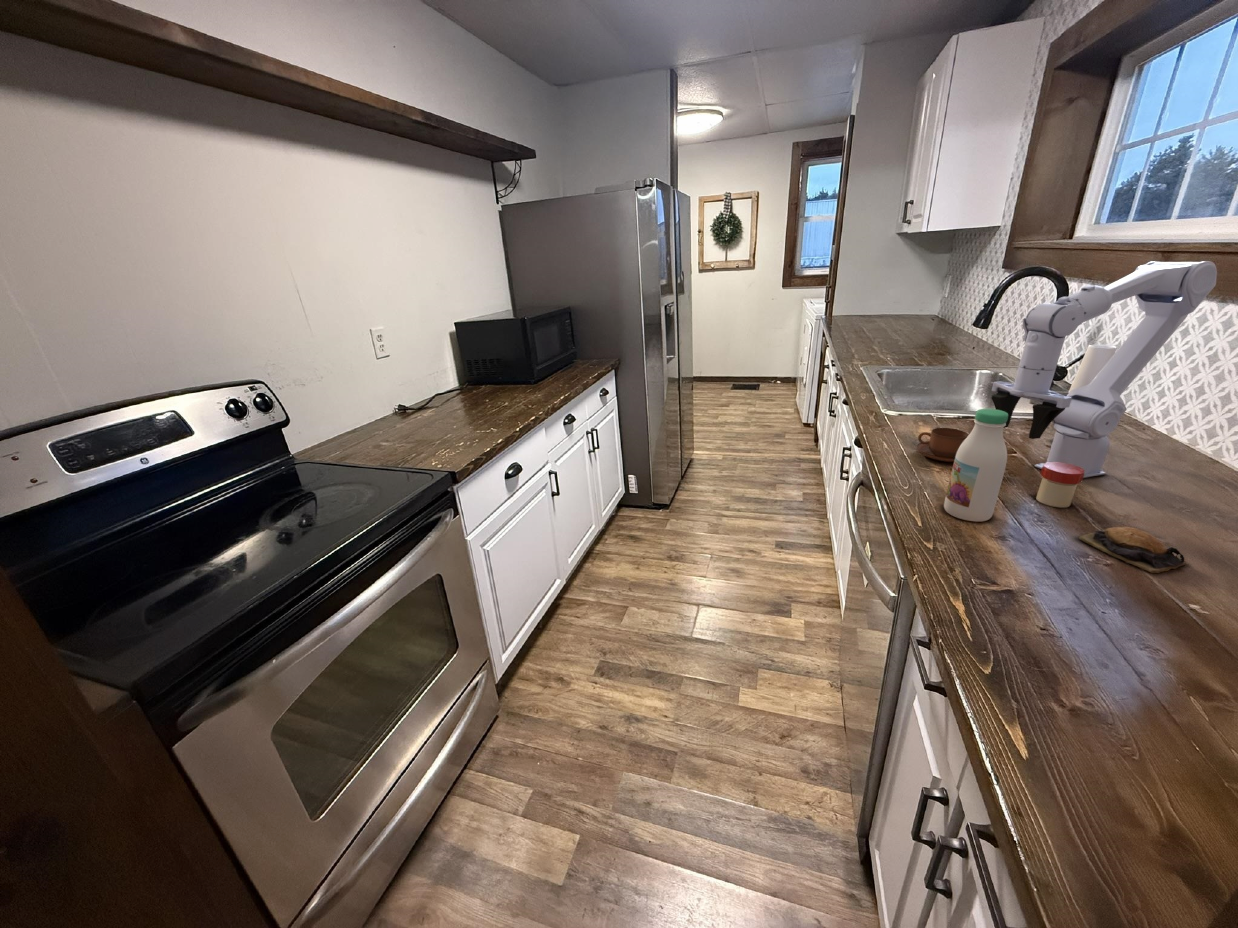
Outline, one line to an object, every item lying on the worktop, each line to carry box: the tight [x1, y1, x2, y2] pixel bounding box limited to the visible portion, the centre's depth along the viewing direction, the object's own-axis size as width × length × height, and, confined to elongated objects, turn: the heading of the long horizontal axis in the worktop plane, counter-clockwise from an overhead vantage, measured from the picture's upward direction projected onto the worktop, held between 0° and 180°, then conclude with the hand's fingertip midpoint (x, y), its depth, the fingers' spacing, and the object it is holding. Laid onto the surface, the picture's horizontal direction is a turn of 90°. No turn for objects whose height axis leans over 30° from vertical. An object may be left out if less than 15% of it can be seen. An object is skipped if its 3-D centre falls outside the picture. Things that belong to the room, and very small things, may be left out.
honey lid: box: [1040, 461, 1085, 485], centre depth 94 cm, size 6×6×2 cm
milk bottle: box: [943, 408, 1008, 523], centre depth 90 cm, size 8×8×20 cm
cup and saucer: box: [916, 427, 969, 463], centre depth 118 cm, size 12×12×6 cm
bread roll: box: [1078, 526, 1187, 574], centre depth 80 cm, size 11×8×4 cm
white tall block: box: [1068, 344, 1117, 393], centre depth 118 cm, size 7×7×24 cm
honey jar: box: [1035, 476, 1079, 508], centre depth 95 cm, size 5×5×6 cm
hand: (1017, 432), depth 103 cm, fingers open, 6 cm apart
